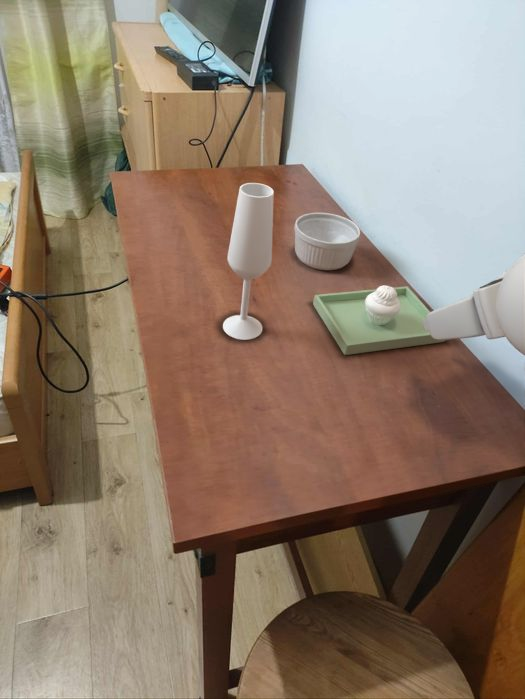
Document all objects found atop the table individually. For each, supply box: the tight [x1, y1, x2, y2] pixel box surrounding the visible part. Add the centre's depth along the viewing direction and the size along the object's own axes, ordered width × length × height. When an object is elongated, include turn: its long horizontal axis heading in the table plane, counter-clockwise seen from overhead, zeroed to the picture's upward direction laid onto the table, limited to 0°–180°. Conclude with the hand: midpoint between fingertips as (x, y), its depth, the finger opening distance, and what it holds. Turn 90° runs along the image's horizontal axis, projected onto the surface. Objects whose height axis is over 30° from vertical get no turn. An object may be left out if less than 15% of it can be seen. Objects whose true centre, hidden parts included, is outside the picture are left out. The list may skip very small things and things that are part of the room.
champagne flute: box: [222, 182, 275, 341], centre depth 78 cm, size 7×7×24 cm
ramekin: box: [293, 212, 361, 271], centre depth 104 cm, size 13×13×7 cm
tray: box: [312, 285, 446, 356], centre depth 90 cm, size 19×14×2 cm
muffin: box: [365, 284, 401, 325], centre depth 88 cm, size 6×6×7 cm
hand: (448, 315), depth 77 cm, fingers open, 8 cm apart
